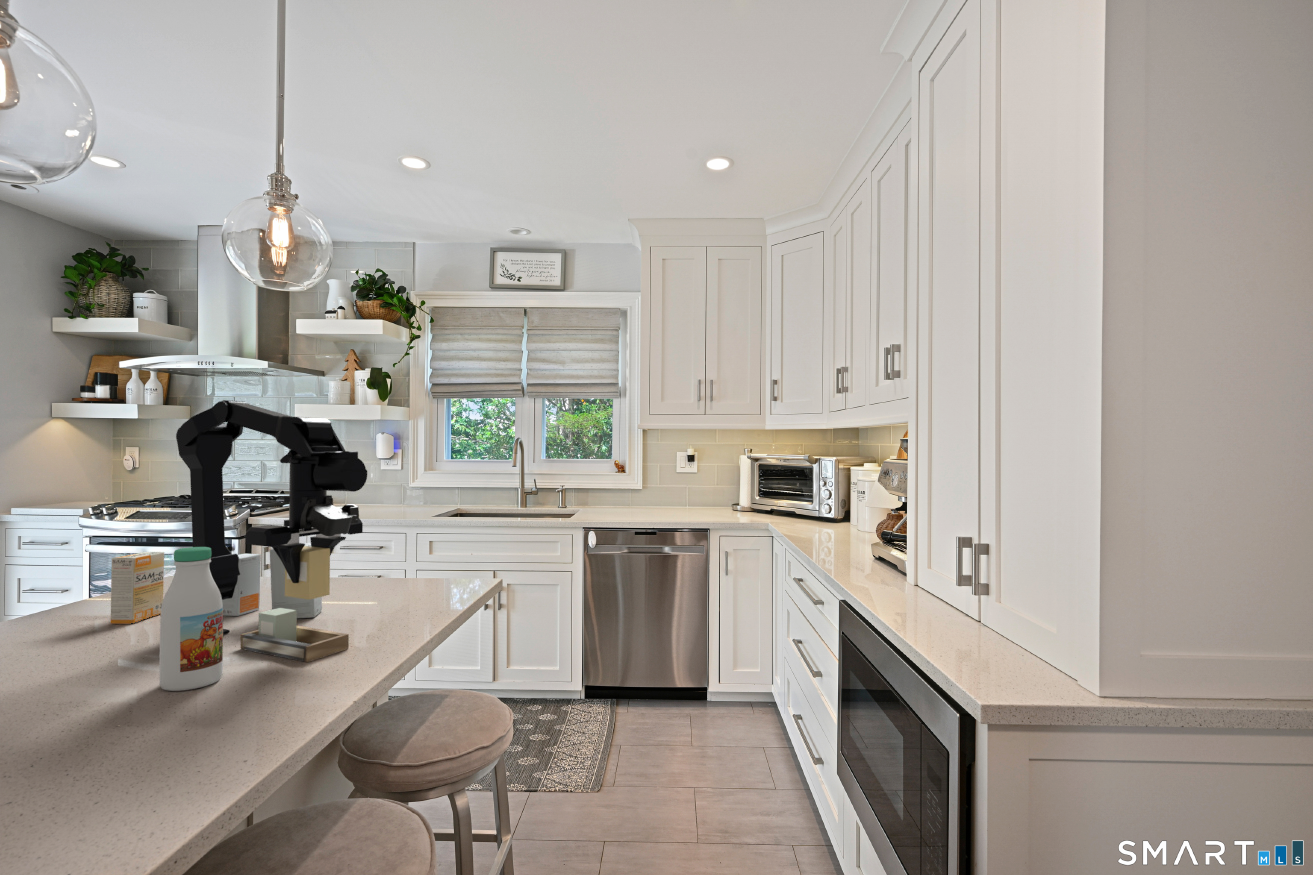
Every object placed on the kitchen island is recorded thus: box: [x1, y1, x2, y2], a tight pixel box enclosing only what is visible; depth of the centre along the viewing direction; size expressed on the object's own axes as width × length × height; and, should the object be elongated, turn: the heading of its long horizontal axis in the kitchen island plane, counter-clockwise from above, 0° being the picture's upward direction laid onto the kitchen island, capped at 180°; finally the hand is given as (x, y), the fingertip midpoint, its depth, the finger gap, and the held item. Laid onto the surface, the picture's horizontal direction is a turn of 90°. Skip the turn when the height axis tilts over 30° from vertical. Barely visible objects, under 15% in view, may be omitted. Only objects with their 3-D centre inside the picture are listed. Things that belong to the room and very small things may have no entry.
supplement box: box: [110, 551, 165, 625], centre depth 136 cm, size 8×5×13 cm, turn 179°
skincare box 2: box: [269, 542, 323, 619], centre depth 138 cm, size 8×6×15 cm
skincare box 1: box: [222, 553, 262, 617], centre depth 141 cm, size 6×4×12 cm
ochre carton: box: [285, 546, 331, 600], centre depth 115 cm, size 4×6×8 cm
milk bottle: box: [159, 546, 224, 692], centre depth 100 cm, size 8×8×20 cm
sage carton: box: [258, 608, 298, 641], centre depth 118 cm, size 4×4×6 cm
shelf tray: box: [240, 625, 350, 663], centre depth 116 cm, size 17×8×2 cm, turn 65°
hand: (307, 580), depth 115 cm, fingers closed on ochre carton, 4 cm apart
